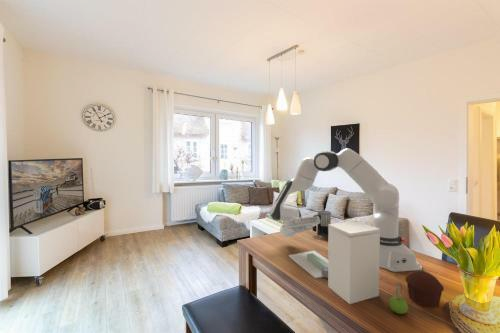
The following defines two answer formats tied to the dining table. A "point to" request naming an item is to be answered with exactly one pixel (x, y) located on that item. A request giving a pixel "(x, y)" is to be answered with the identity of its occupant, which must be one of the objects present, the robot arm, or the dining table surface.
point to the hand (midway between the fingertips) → (309, 218)
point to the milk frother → (323, 223)
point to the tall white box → (353, 260)
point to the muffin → (424, 289)
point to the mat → (308, 263)
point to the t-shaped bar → (318, 263)
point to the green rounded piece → (398, 301)
